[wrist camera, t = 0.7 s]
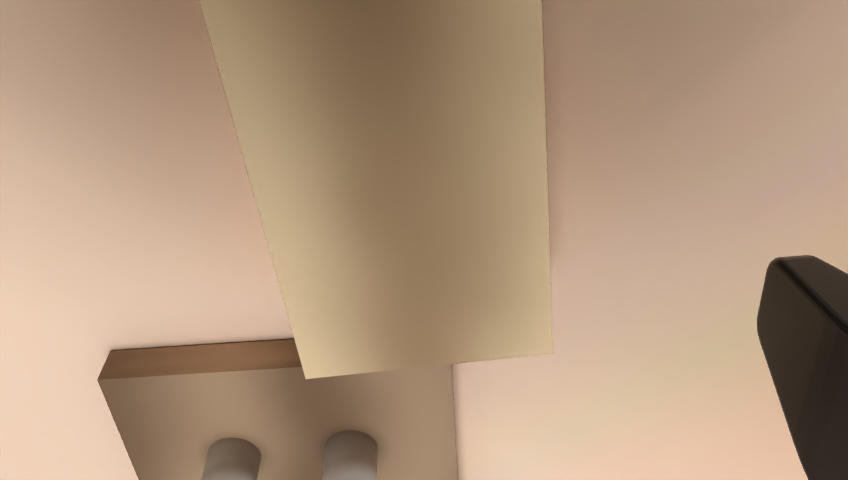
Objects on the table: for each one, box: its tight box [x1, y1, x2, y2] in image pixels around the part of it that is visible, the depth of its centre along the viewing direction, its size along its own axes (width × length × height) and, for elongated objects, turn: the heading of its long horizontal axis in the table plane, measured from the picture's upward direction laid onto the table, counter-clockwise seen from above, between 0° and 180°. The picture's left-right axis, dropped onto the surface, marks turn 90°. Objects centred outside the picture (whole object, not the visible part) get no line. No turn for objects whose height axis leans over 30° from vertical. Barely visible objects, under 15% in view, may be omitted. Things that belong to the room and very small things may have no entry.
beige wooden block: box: [199, 0, 553, 379], centre depth 16 cm, size 6×16×4 cm, turn 7°
